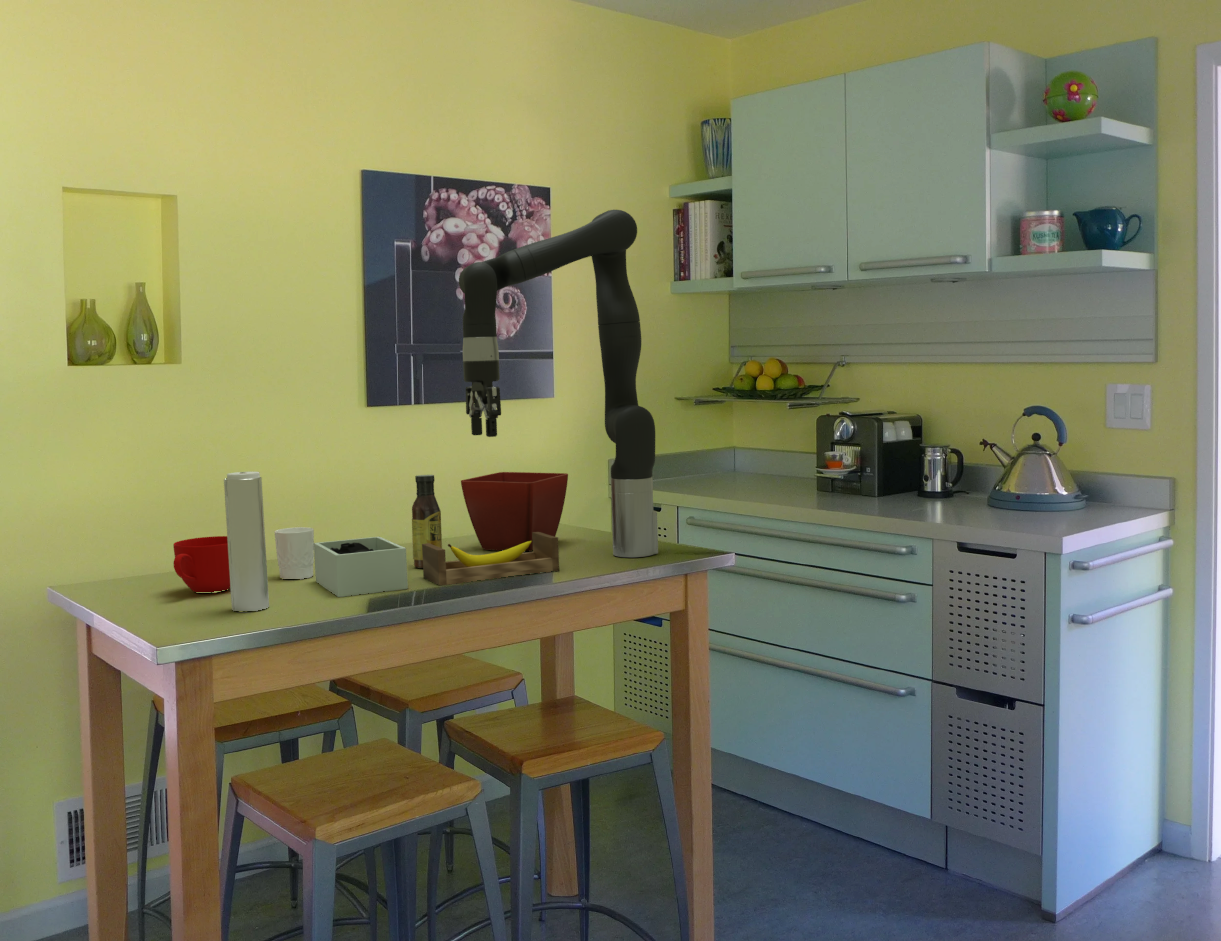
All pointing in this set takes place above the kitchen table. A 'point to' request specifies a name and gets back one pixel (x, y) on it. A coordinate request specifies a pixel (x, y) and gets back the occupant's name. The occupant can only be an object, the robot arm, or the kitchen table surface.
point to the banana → (490, 556)
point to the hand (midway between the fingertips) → (484, 435)
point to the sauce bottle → (425, 518)
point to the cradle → (457, 572)
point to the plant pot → (514, 506)
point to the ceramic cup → (203, 563)
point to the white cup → (295, 552)
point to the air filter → (246, 541)
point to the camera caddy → (361, 567)
